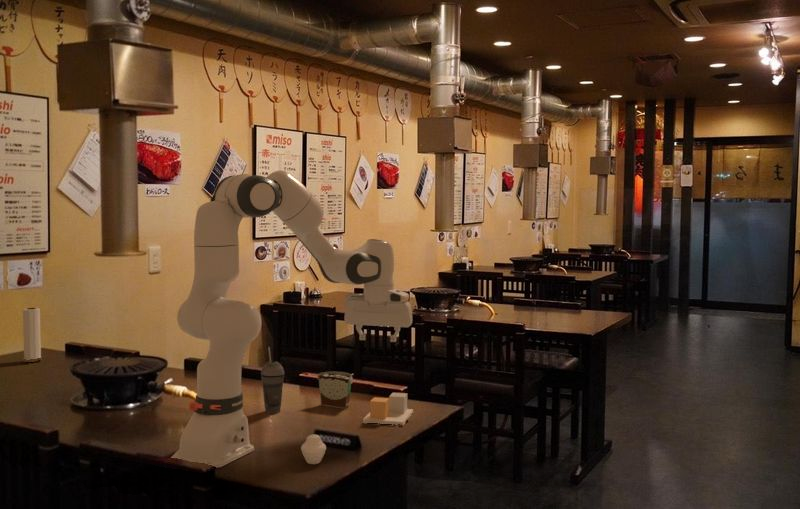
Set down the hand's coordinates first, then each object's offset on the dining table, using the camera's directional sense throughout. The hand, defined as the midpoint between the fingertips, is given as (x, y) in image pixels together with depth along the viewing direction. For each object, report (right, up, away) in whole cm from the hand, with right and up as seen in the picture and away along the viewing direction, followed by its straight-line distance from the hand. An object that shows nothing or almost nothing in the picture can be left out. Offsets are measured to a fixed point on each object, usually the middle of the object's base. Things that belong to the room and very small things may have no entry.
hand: (377, 340), depth 224 cm
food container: (-13, -22, +16) cm, 30 cm away
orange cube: (+1, -22, -1) cm, 22 cm away
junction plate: (+3, -23, +1) cm, 23 cm away
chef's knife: (+4, -25, -9) cm, 27 cm away
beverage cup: (-32, -23, +7) cm, 40 cm away
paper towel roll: (-140, -17, +76) cm, 160 cm away
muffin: (-15, -26, -38) cm, 48 cm away
